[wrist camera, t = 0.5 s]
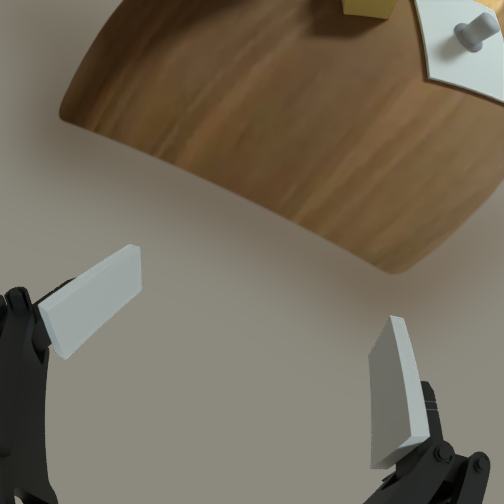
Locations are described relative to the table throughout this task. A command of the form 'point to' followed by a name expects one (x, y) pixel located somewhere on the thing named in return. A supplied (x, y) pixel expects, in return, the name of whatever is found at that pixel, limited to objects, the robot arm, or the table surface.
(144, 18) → the table surface
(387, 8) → the pale yellow cube
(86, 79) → the table surface
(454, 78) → the white square plate
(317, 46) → the table surface
